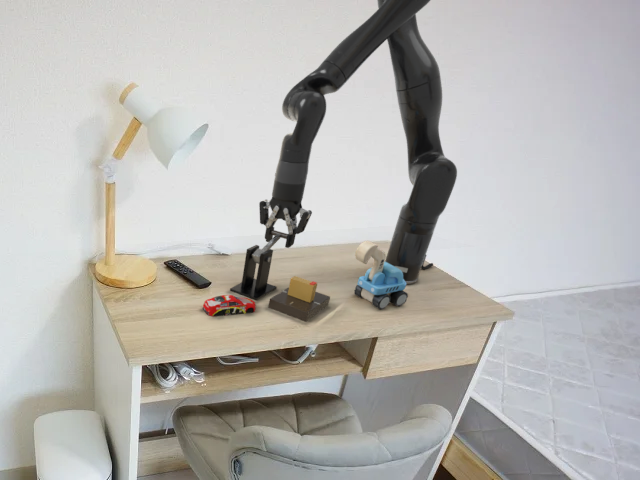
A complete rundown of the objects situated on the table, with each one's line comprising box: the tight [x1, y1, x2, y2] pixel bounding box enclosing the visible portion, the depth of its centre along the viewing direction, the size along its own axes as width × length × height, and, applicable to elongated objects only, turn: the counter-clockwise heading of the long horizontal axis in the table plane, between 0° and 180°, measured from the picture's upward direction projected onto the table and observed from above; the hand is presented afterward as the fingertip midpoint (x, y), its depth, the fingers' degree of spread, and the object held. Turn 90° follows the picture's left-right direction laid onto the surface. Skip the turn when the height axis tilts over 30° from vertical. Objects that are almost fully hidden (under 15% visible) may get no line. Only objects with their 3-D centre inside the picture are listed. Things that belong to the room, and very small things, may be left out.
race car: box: [202, 294, 257, 317], centre depth 124 cm, size 13×5×4 cm, turn 102°
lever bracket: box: [229, 244, 277, 302], centre depth 132 cm, size 10×8×12 cm
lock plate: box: [267, 286, 331, 322], centre depth 127 cm, size 12×10×3 cm
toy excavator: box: [353, 240, 409, 310], centre depth 126 cm, size 9×17×17 cm, turn 111°
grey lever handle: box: [252, 229, 288, 265], centre depth 132 cm, size 12×5×2 cm, turn 136°
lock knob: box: [288, 275, 318, 303], centre depth 125 cm, size 6×2×5 cm, turn 46°
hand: (278, 243), depth 135 cm, fingers open, 5 cm apart
